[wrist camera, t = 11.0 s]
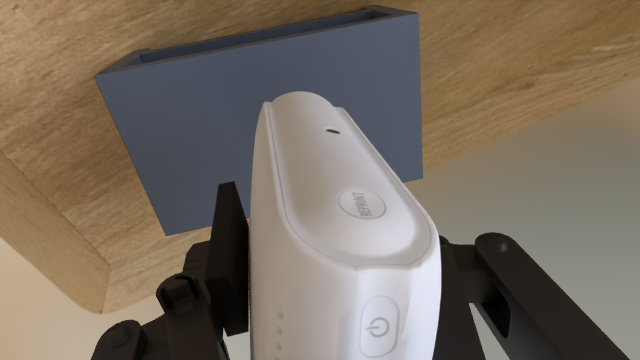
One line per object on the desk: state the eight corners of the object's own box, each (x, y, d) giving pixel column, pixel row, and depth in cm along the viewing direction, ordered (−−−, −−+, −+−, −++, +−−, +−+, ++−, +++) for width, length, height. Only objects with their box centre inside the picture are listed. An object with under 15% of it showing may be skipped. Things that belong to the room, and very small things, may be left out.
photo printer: (253, 83, 16) (267, 296, 5) (350, 90, 17) (535, 286, 6) (245, 271, 21) (245, 592, 10) (322, 269, 21) (399, 561, 11)
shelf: (184, 180, 36) (165, 236, 28) (134, 50, 30) (93, 75, 22) (386, 136, 37) (423, 178, 29) (376, 4, 31) (418, 12, 23)
